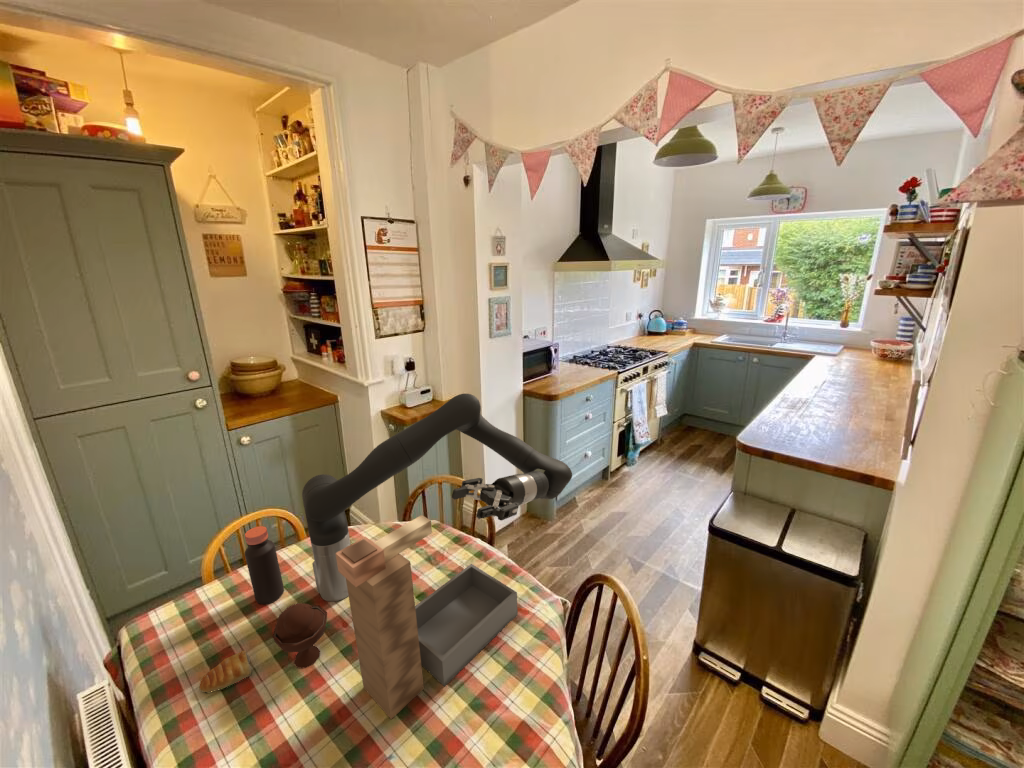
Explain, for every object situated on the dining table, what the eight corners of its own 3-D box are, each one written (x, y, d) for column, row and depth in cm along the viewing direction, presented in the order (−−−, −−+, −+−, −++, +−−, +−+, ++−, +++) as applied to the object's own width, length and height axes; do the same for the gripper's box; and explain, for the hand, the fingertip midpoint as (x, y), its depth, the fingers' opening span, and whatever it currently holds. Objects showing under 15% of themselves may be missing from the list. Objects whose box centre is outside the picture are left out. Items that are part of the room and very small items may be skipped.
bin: (472, 584, 117) (471, 563, 115) (517, 614, 107) (516, 592, 105) (399, 644, 99) (396, 620, 97) (444, 686, 89) (442, 661, 87)
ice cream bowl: (343, 643, 100) (334, 591, 96) (307, 687, 90) (295, 631, 86) (307, 631, 103) (297, 580, 99) (268, 672, 93) (255, 617, 89)
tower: (395, 660, 95) (379, 539, 86) (423, 688, 89) (410, 561, 80) (363, 687, 90) (342, 561, 80) (391, 719, 83) (372, 586, 74)
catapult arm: (418, 524, 91) (416, 507, 89) (436, 535, 87) (435, 517, 86) (338, 571, 78) (335, 551, 76) (355, 587, 74) (352, 566, 72)
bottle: (289, 591, 116) (276, 529, 110) (264, 609, 110) (249, 543, 104) (275, 582, 119) (262, 520, 113) (250, 598, 114) (234, 534, 108)
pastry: (202, 704, 87) (198, 690, 86) (199, 680, 92) (194, 667, 91) (254, 675, 93) (251, 662, 92) (248, 654, 98) (245, 641, 97)
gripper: (498, 464, 109) (448, 474, 97) (539, 490, 100) (490, 504, 88) (491, 490, 110) (442, 503, 98) (532, 518, 101) (483, 536, 89)
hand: (465, 504), depth 93 cm, fingers open, 8 cm apart
